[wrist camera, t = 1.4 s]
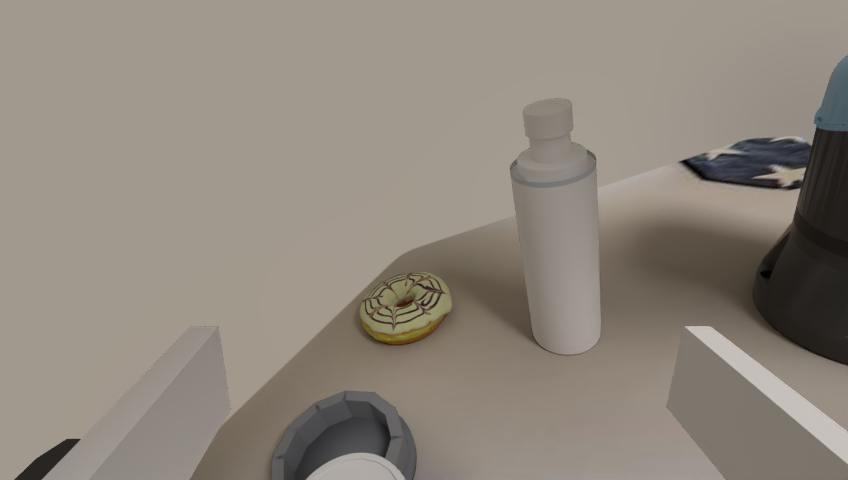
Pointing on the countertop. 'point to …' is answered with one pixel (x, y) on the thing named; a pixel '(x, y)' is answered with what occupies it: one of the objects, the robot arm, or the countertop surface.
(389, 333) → the decorated donut
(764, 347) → the countertop surface
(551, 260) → the spray bottle
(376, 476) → the bottle
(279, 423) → the countertop surface
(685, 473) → the countertop surface
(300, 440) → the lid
